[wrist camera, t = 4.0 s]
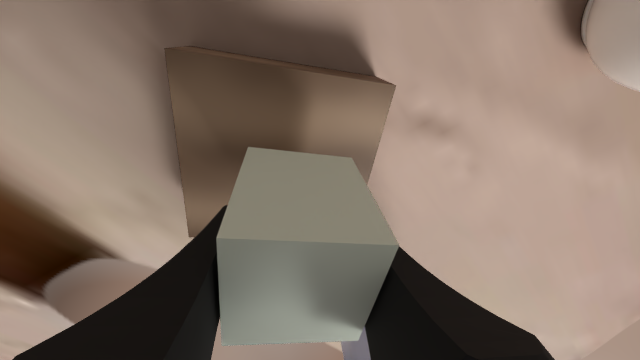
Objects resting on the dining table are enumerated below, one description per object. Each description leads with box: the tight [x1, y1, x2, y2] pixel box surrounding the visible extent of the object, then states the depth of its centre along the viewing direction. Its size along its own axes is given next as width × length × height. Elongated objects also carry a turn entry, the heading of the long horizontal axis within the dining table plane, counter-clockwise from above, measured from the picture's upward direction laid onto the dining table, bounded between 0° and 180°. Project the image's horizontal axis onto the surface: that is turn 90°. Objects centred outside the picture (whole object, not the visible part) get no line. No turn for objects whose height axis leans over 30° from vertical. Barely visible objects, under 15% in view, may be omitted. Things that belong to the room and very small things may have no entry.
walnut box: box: [164, 46, 396, 237], centre depth 17 cm, size 12×12×4 cm
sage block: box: [216, 147, 399, 346], centre depth 10 cm, size 5×5×6 cm
